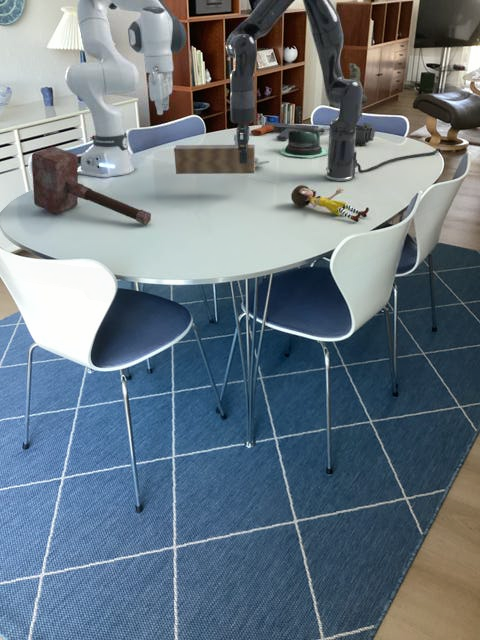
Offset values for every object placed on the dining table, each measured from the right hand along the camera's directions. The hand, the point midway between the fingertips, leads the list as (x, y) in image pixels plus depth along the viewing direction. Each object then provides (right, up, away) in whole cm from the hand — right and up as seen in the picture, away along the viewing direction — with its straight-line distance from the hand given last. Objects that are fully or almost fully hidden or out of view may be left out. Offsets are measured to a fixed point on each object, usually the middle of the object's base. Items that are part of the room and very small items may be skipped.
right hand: (243, 160), depth 180 cm
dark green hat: (+26, +19, +56) cm, 64 cm away
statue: (+54, +40, +90) cm, 112 cm away
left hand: (-26, +16, +1) cm, 31 cm away
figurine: (+26, -18, -9) cm, 33 cm away
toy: (+50, +27, +67) cm, 88 cm away
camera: (+2, +8, +38) cm, 39 cm away
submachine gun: (+21, +36, +85) cm, 95 cm away
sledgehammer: (-46, -20, -8) cm, 51 cm away
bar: (-9, -3, +2) cm, 10 cm away
